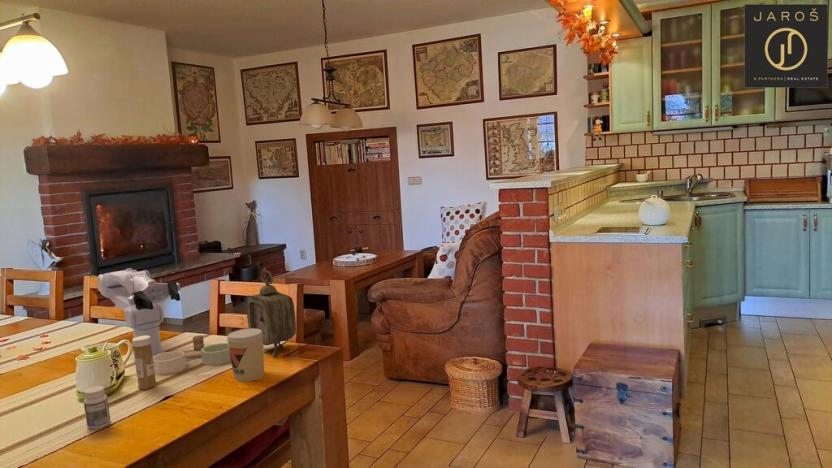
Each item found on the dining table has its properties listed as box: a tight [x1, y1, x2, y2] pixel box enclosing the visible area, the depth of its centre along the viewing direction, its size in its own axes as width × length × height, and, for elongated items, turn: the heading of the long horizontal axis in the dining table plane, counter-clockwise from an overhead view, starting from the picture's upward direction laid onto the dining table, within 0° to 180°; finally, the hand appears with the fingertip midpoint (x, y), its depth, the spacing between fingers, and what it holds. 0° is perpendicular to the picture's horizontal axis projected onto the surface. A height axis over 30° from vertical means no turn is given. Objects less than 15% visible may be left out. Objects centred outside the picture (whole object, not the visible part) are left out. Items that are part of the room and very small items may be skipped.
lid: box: [181, 334, 213, 358], centre depth 184 cm, size 10×10×5 cm
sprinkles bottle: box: [131, 336, 157, 390], centre depth 158 cm, size 5×5×13 cm
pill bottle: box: [83, 385, 111, 430], centre depth 135 cm, size 5×5×8 cm
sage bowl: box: [201, 342, 231, 366], centre depth 176 cm, size 9×9×4 cm
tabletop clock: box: [245, 269, 297, 358], centre depth 181 cm, size 14×9×25 cm, turn 41°
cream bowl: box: [153, 350, 187, 375], centre depth 171 cm, size 9×9×4 cm
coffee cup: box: [226, 328, 265, 383], centre depth 160 cm, size 9×9×12 cm
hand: (165, 301), depth 170 cm, fingers open, 7 cm apart
